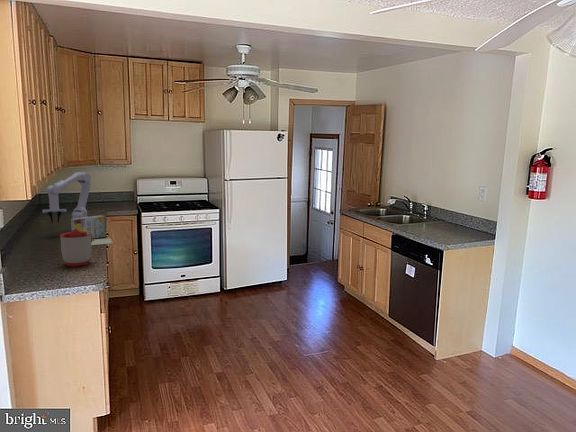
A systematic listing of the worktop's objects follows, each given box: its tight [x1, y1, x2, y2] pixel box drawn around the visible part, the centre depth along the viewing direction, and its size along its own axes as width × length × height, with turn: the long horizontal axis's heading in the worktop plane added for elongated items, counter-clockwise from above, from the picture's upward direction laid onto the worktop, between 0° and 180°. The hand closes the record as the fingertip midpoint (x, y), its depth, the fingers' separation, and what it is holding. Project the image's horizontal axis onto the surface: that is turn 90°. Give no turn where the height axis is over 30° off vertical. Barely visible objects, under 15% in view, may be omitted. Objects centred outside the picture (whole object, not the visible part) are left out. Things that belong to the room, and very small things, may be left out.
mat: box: [91, 238, 114, 246], centre depth 298 cm, size 16×26×1 cm, turn 118°
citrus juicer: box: [59, 229, 94, 268], centre depth 246 cm, size 16×17×20 cm
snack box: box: [70, 215, 107, 239], centre depth 307 cm, size 21×6×15 cm, turn 141°
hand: (55, 222), depth 309 cm, fingers open, 3 cm apart
